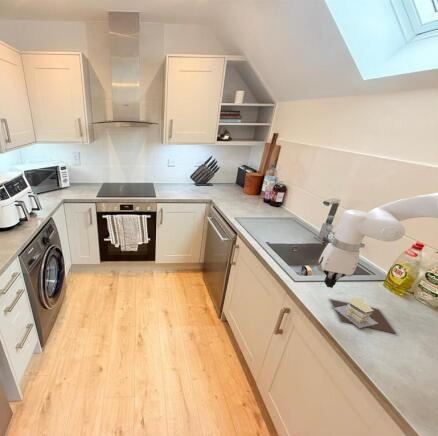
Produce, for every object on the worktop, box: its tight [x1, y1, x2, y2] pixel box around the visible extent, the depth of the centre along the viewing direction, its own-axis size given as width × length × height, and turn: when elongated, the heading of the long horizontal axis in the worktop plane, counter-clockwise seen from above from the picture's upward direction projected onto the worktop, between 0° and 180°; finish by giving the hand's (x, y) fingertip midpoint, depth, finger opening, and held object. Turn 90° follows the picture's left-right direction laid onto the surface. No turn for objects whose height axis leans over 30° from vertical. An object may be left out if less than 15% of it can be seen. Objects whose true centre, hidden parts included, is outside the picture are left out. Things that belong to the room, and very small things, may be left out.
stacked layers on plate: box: [333, 297, 378, 329], centre depth 90 cm, size 10×9×6 cm
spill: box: [330, 299, 396, 334], centre depth 91 cm, size 16×12×1 cm
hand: (328, 285), depth 91 cm, fingers closed
